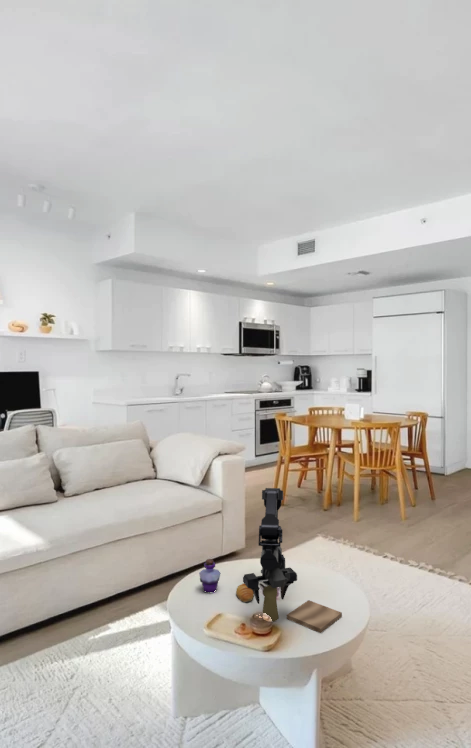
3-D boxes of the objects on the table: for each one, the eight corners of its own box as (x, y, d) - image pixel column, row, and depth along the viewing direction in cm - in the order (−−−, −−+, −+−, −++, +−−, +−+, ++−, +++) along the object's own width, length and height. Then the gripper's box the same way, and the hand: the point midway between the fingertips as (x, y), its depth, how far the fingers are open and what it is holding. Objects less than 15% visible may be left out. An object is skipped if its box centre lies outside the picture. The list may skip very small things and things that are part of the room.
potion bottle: (200, 584, 204) (200, 555, 203) (221, 585, 203) (221, 555, 203) (197, 594, 195) (197, 564, 195) (220, 595, 195) (219, 564, 194)
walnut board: (286, 618, 177) (286, 614, 177) (308, 604, 187) (308, 600, 187) (320, 633, 168) (320, 628, 168) (341, 616, 178) (341, 612, 178)
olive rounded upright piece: (260, 613, 181) (260, 583, 180) (277, 612, 181) (277, 582, 181) (263, 622, 175) (262, 591, 174) (280, 621, 175) (280, 590, 175)
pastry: (256, 602, 189) (256, 592, 189) (238, 604, 188) (238, 594, 188) (251, 591, 198) (251, 581, 198) (235, 592, 197) (234, 583, 197)
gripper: (253, 570, 167) (253, 616, 167) (304, 563, 173) (304, 607, 173) (242, 558, 177) (242, 601, 178) (290, 551, 183) (290, 593, 184)
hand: (270, 601), depth 178 cm, fingers open, 9 cm apart
